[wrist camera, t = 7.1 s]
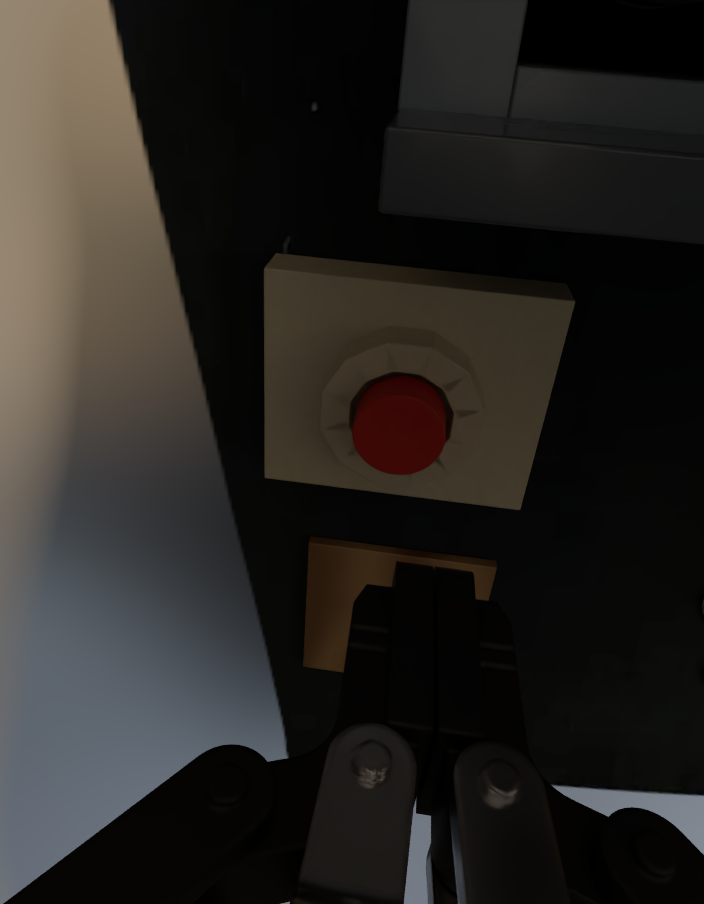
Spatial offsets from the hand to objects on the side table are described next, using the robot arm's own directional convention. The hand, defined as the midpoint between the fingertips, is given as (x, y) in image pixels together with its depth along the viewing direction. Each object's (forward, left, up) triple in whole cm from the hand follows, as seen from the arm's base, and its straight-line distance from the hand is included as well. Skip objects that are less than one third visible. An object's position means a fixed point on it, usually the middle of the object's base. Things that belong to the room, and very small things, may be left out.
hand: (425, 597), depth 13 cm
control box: (-1, -4, -17) cm, 18 cm away
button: (-1, -4, -14) cm, 14 cm away
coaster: (0, -19, -17) cm, 25 cm away
